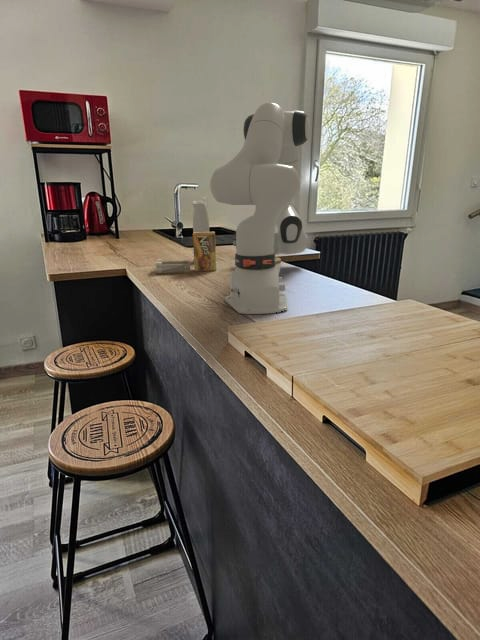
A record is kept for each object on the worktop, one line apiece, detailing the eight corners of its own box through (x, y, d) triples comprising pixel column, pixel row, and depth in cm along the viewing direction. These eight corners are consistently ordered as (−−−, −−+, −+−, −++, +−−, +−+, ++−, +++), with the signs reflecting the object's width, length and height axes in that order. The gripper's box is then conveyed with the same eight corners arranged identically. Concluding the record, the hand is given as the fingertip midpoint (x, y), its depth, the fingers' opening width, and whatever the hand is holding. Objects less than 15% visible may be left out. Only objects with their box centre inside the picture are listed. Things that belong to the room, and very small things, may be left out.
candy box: (216, 268, 176) (215, 231, 171) (216, 270, 172) (214, 232, 167) (195, 269, 175) (193, 231, 171) (194, 271, 171) (192, 233, 167)
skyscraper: (215, 261, 192) (213, 197, 183) (200, 263, 188) (196, 197, 179) (206, 258, 199) (203, 196, 190) (191, 260, 194) (187, 197, 186)
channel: (190, 273, 168) (189, 262, 167) (156, 274, 167) (155, 263, 165) (190, 268, 178) (189, 257, 176) (158, 269, 176) (157, 258, 175)
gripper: (263, 233, 182) (231, 234, 181) (272, 240, 163) (237, 241, 162) (263, 247, 185) (232, 249, 183) (272, 256, 165) (237, 258, 164)
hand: (234, 245), depth 172 cm, fingers open, 8 cm apart
